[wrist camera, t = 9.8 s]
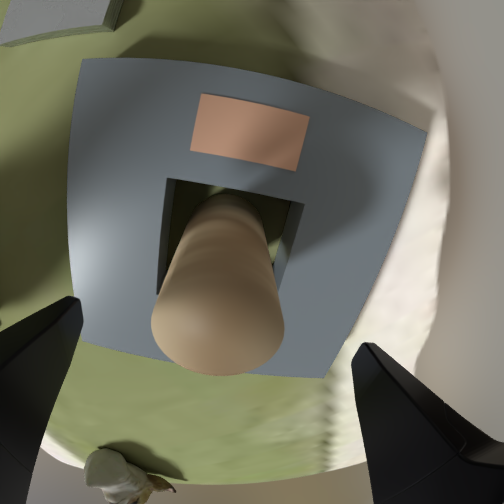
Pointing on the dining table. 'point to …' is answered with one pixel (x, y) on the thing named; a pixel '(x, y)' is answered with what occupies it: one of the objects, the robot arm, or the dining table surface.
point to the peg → (220, 293)
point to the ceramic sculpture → (121, 478)
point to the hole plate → (235, 177)
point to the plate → (56, 19)
